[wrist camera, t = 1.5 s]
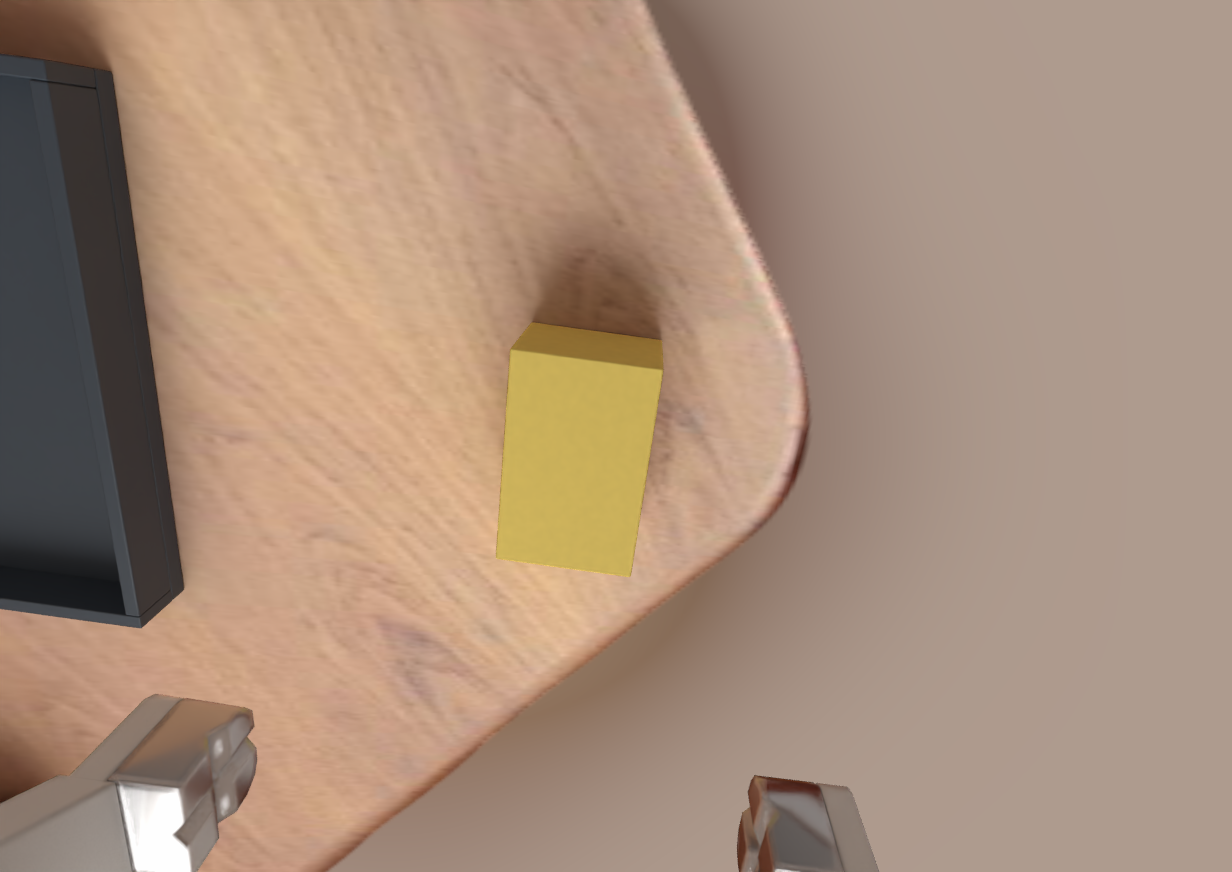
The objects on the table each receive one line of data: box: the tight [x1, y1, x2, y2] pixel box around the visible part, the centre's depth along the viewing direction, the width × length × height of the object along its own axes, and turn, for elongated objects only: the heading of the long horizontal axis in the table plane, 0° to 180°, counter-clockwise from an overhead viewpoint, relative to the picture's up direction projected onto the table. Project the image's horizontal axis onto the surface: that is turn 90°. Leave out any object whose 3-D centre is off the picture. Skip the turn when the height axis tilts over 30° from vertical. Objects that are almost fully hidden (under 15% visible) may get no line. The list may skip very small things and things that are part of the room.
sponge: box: [496, 322, 663, 577], centre depth 25 cm, size 8×5×4 cm, turn 173°
